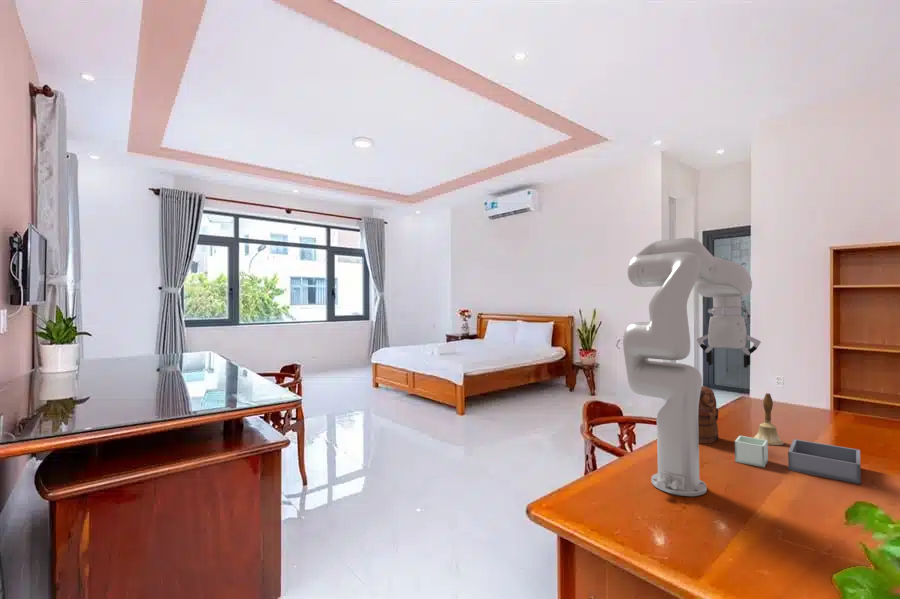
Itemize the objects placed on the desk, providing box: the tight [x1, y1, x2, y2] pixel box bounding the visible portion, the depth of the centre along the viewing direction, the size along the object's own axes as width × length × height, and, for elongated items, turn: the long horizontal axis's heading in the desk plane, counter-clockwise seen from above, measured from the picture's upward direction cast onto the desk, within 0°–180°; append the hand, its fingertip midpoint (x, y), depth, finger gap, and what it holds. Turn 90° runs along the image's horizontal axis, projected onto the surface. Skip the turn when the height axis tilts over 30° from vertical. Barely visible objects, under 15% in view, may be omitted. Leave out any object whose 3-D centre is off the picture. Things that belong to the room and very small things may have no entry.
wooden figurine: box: [698, 385, 720, 444], centre depth 147 cm, size 12×6×18 cm, turn 128°
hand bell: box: [752, 392, 785, 446], centre depth 144 cm, size 8×8×16 cm
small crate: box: [734, 434, 769, 468], centre depth 127 cm, size 7×7×6 cm
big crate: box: [787, 438, 862, 485], centre depth 121 cm, size 15×15×5 cm
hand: (728, 365), depth 139 cm, fingers open, 9 cm apart
